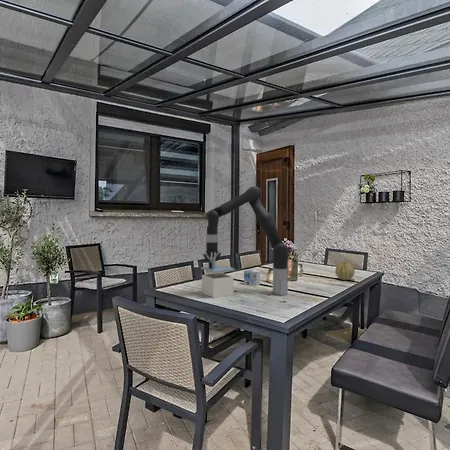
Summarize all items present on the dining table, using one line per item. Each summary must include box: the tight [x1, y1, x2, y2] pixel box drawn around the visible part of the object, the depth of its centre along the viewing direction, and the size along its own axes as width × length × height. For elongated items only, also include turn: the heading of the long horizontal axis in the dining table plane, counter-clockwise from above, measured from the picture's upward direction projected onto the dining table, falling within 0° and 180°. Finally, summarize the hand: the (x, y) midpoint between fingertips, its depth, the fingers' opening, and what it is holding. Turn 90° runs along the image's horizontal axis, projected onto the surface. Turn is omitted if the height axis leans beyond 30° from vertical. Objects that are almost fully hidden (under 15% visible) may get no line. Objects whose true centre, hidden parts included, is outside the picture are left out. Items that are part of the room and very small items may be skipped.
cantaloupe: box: [335, 261, 356, 281], centre depth 273 cm, size 15×15×15 cm
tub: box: [201, 272, 234, 299], centre depth 221 cm, size 15×15×12 cm
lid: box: [201, 260, 236, 274], centre depth 221 cm, size 16×16×7 cm
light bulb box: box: [243, 268, 261, 287], centre depth 251 cm, size 11×7×11 cm, turn 62°
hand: (211, 268), depth 218 cm, fingers closed on lid, 1 cm apart
